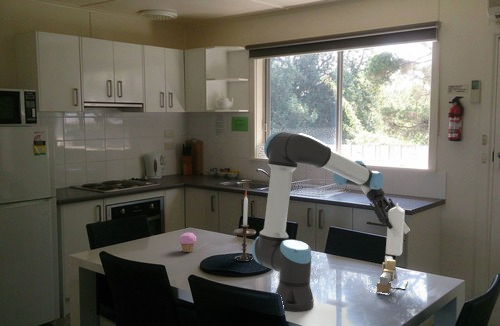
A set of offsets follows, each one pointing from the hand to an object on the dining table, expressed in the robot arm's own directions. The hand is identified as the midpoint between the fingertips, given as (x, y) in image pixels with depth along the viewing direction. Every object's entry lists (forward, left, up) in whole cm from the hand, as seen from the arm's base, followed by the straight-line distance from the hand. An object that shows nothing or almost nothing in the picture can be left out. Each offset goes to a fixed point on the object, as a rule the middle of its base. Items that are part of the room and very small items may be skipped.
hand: (402, 233), depth 209 cm
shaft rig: (-2, +5, -23) cm, 24 cm away
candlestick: (-42, +61, -23) cm, 78 cm away
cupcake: (-61, +85, -23) cm, 108 cm away
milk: (-1, +3, -10) cm, 10 cm away
